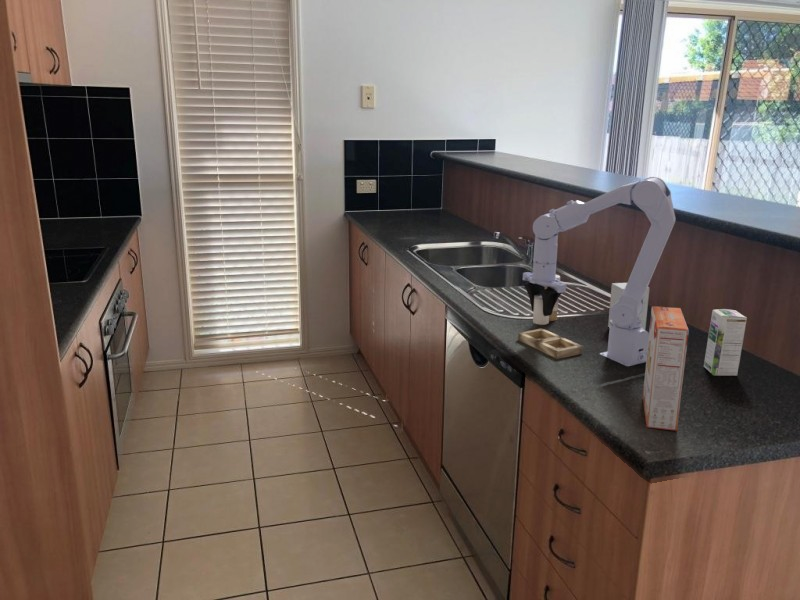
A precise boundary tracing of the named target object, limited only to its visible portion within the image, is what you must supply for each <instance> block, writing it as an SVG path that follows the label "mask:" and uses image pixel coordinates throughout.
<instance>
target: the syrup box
mask: <svg viewBox="0 0 800 600" xmlns="http://www.w3.org/2000/svg"><path fill="white" fill-rule="evenodd" d="M747 319H748V318H747V316H745V315H743V314H741V312H739V311H737V310H734V309H727V308H721V309H712V312H711V319H710V323H709V324H710V325H709V330H708V336H707V342H706V348H705V355H704V362H703V368H705V369H706V370H707V372H709V373H710V374H711V375H712V376H718V377H721V376H725V377H727V376H729V377H731V376H733V377H734V376H738V374H739V372H738V371H739V367H740V361H741V355H742V348H743V343H744V337H745V331H746V325H747Z"/></svg>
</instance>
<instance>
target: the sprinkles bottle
mask: <svg viewBox="0 0 800 600" xmlns="http://www.w3.org/2000/svg"><path fill="white" fill-rule="evenodd" d="M555 278H556V279H557V280H559V281H560V282H561V276H560V275H559V274H556V276H555ZM545 289H547V287H545ZM558 310H559V298H558V299H557V301H556V303H555V306H554V308H553V311H552V314H551V315H550V316H549V322H552V321H557V320H558Z"/></svg>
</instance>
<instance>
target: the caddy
mask: <svg viewBox="0 0 800 600" xmlns="http://www.w3.org/2000/svg"><path fill="white" fill-rule="evenodd" d="M517 334H518V336H517V341H520V342H522V343H524V344H525V345H528V346H530V347H531V348H534V349H536V350H538V351H540V352H542V353H544V354H546V355H548V356H550V357H552V358H554V359H557V360H559V359H564V358H569V357H572V356H577V355H581V354H583V350H584V348H583V347H584V346H583V345H581V344H579V343H577V342H574V341H572V340H570V339H568V338H565V337H562V336H561V335H559V334H557V333H554V332H551V331H549V330H547V329H545V328H537V329H532V330H527V331H521V332H518V333H517Z"/></svg>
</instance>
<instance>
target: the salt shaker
mask: <svg viewBox="0 0 800 600" xmlns="http://www.w3.org/2000/svg"><path fill="white" fill-rule="evenodd" d="M532 312H533V315H532V323H533V324H536V325H539V326H540V325H541V326H544V325H547V324H549V322H550V321H549V316H544V315H543V300H542V295H541V294H536V295H534V311H532Z"/></svg>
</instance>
